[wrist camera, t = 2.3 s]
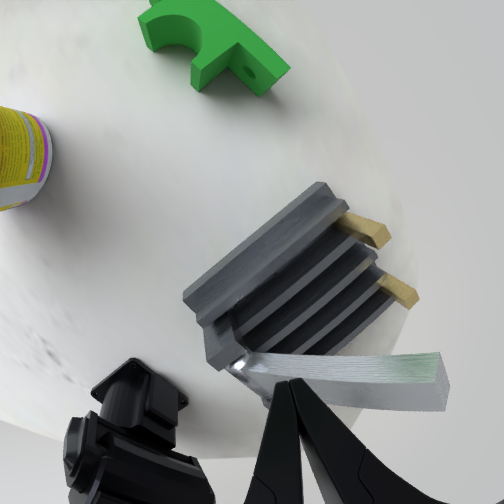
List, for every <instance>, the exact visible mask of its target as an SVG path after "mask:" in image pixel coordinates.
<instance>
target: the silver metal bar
mask: <svg viewBox="0 0 504 504" xmlns="http://www.w3.org/2000/svg"><path fill="white" fill-rule="evenodd" d="M246 349H247V352H246V353H244V354H243V355H241V356H240V357H239V358H237V359H236V360H235V361H233V362H232V363H231V364H229V365H228V366H226V367H225V368H224V369H226V370H227V371H228V372H229V373H231V374H232V375H233V376H234V377H236V378H237V379H238V380H239V381H241V382H242V383H243V384H244V385H246V386H247V387H248V388H250V389H251V390H252V391H253V392H255V393H256V394H257V395H259V396H260V397H261V398H263V399H270V398H272V396H273V391H274V387H275V384H276V383H277V382H280V381H285V380H287V381H288V382H289V380H290V379H294V378H299V377H300V378H302V379H303V380H304V381H305V382H306V383H307V384H308V385H309V386H310V387H311V389H312V390H313V391H314V392H315V393H316V394H317V395H318V396H319V397H320V398H321V400H322V401H323V402H324V403H325V404H331V405H339V406H347V407H357V408H368V409H380V410H397V411H445V407H446V403H447V398H448V393H449V388H450V384H449V381H448V378H447V374H446V371H445V367H444V364H443V361H442V358H441V354H440V352H436V353H422V354H408V355H407V354H406V355H383V356H315V355H290V354H273V353H259V352H252V351H251V350H250V349H249V348H248V347H246Z"/></svg>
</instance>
